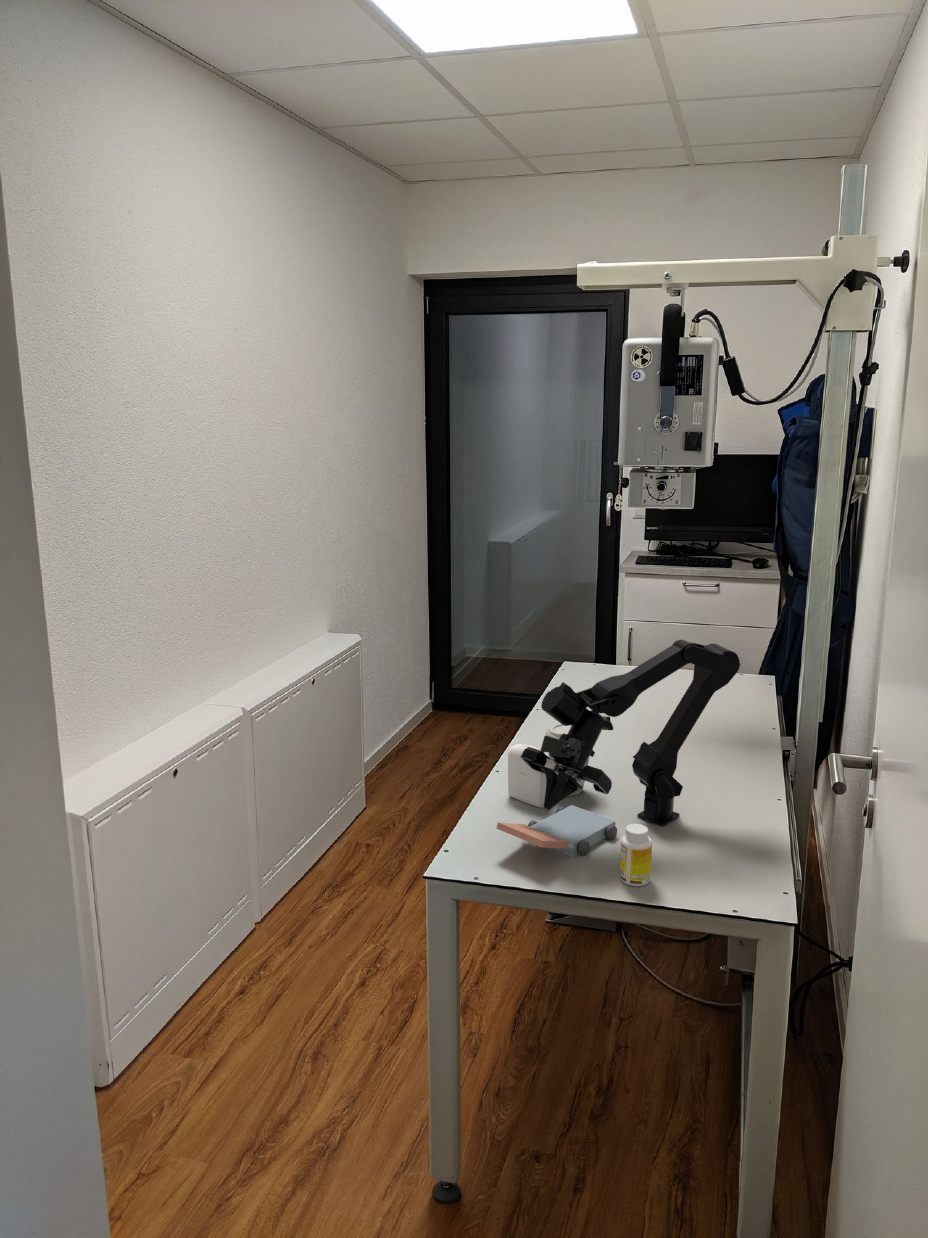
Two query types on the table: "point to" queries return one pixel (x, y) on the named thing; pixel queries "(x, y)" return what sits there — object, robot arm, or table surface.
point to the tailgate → (533, 836)
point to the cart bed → (576, 828)
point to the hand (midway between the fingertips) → (546, 808)
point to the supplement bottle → (636, 856)
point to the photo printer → (525, 778)
